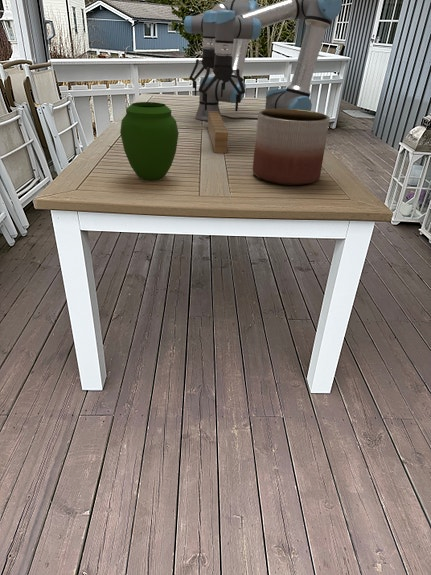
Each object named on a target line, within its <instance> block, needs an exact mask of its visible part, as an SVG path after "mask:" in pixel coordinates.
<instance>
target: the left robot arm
mask: <svg viewBox="0 0 431 575" xmlns="http://www.w3.org/2000/svg"><path fill="white" fill-rule="evenodd" d="M259 8H260V6H259V3H258V2H257V0H224V1H222V2H219V3H217V4H215V5H214V6H213V8H211V9H207V10H204V11H203V12H202V13H199V14H196V15H186V16H185V17H184V20H183V29H184V31H185V32H186V33H187V34H192V35H193V34H195V35H202V56H201V59H199V58H197V59H196V60H195V64H194V66H193V69H192V71H191V72H190V75H189V77H188V80H190V81H192V89H194V96H197V79H198V78H199V76H201V74H202V73H203V72H204V70H207V68H208V67H209V68H212V69H213V68H214V59H215V55H216V54H215V43H216V42H215V34H216V24H215V23H216V15H217V11H218V10H231V11H235V16H237V15H240V14H243V13H246V12H249V11H252V10H255V9H259ZM249 42H250V39H234V43H233V54H232V55H231V56H232V57H233V60H232V69H233V70H234V69H239V73H240V78H241V80H242V83H243V86H244V89H245V90H246V82H244V81H245V80H244V77H243V72H244V67H245V61H246V57H247V51H248V47H249ZM200 64H201V65H202V67H201V68H200V70H199V71H198V72H197V73H196V75H195V72H196V71H197V68H198V66H199V65H200ZM213 77H214V76H208V78H207V80H206V82H205V84H204V86H203V90H204V88H205V87H206V86H207V85H208V83H209V82H210V81H211V80H212V79H213ZM230 77H231V78H232V80H233V81H234V83H235V84H236V86H237V87H238V89H239V90H240V91H242V90H241V87H240V85H239V82H238V79H237V76H236V75H235V74H234V72H233V73H232V75H231V76H230ZM203 79H204V77H201V78H200V80H199V86H198V88H199V87H200V85H201V83H202V81H203ZM206 93H207V110H205V102H203V100H202V92H199V94H198V95H199V100H198V101H199V103H198V104H199V105H198V107H197V111H196V114H195V119H196V120H199V121H202V122H203V121H204V122H208V111H218V112H219V114H220V116H221V118H226V119H232V120H258V117H247V116H244V117H243V116H239V117H238V116H237V117H233V116H228V115H224V114H221V110H220V107H219V105H220V103H231V104H236V94H238V93H237V91H236V90H235V88H234V87H233V85H232V84H231V82H230V81H229V79H228V80H226V81H225V80H218V79H217V80H216V81H215V82H214V83H213V84H212V86H211V87H210V88H209V89H208V90H207V92H206ZM245 94H246V93H244V94H242V95H241V101H242V100H243V99H244V96H245ZM219 102H220V103H219Z"/></svg>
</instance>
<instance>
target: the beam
mask: <svg viewBox="0 0 431 575" xmlns="http://www.w3.org/2000/svg"><path fill="white" fill-rule="evenodd" d="M220 114H221V113H220ZM220 114H219V112H218V111H208V121H207V131H208V134H209V137H210V141H211V144H212V148H213V151H214V153H218V154H227V153H228V142H229V141H228V139H229V132H228V130H227V127H226V125H225V123H224V121H223V117H222V116H220Z"/></svg>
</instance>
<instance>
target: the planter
mask: <svg viewBox="0 0 431 575" xmlns="http://www.w3.org/2000/svg"><path fill="white" fill-rule="evenodd" d="M257 118H258V119H257V123H256V133H255V134H256V135H255V141H254V142H255V143H254V150H253V151H254V152H253V160H252V173H253V174H254V175H255V176H256V177H257V178H259V179H261V180H263V181H265V182H269V183H271V184H276V185H283V186H302V185H308V184H311V183H314V182H315V181H317V180H319V179H320V177H321V173H322V167H323V166H322V165H323V161H324V154H325V151H326V150H325V149H326V142H327V138H328V131H329V126H330V120H331V119H330V116H329V115H327V114H324V113H321V112H317V111H314V110H313V111H312V110H311V111H306V110H297V109H266V110H265V109H262V110H259V111H258V114H257Z"/></svg>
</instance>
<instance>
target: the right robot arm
mask: <svg viewBox="0 0 431 575" xmlns="http://www.w3.org/2000/svg"><path fill="white" fill-rule="evenodd" d="M342 6H343V0H280V1H277V2H275V3H272V4H268V5H265V6H261V7H259V9H255V10H252V11H249V12H246V13H243V14H240V15H237V16H235V11H231V10H218V11H217V15H216V23H215V24H216V34H215V42H216V43H215V54H216V55H215V59H214V68H213V69H212V68H209V67H208V68H207V70H206V69H205V70H206V71H205V74H204V76H203V78H204V79H203V81H202V83H201V85H200V84H199V86H200V87H199V86H198V92H199V93H200V92H202V100H203V102H205V110H207V93H206V92H207V90H208V89H209V88H210V87H211V86H212V84H213V83H214V82H215V81H216V80H217V79H218V80H225V81H226V80H228V79H229V81H230V82H231V84H232V85H233V87H234V88H235V90H236V91H237V93H238V94H236V103H235V107H234V111H235V112H238V110H239V104H240V103H241V102H242V100H241V95H242V94H244V93H245V94H246V93H247V92H246V88H245V89H244V86H243V83H242V80H241V78H240V73H239V69H234V70H233V69H232V60H233V57H232V56H231V55H232V54H233V43H234V39H249V41H252V40H257V39H258V38H259V37H260V36H261V32H262V29H263V28H267V27H269V26H272V25H275V24H278V23H279V24H280V23H281V22H285V21H287V20H288V21H290V22H292V21H295V20H304V22H305V25H306V26H305V31H304V35H303V39H302V42H301V46H300V49H299V53H298V56H297V61H296V65H295V67H294V72H293V75H292V78H291V82H290V85H288V86H287V87H286V88H269V89H268V90H267V91H266V96H265V108H264V110H266V109H297V110H306V111H312V107H313V106H312V105H313V104H312V100H311V98H310V97H311V91H310V85H311V82H312V78H313V75H314V72H315V68H316V65H317V61H318V59H319V54H320V51H321V48H322V44H323V40H324V37H325V34H326V31H327V30H328V29H329V28H330V27H331V25H332V22H333V20H335V19H336V18H337V17H338V16H339V15H340V14H341V11H342ZM233 72H234V74H235V75H236V76H237V79H238V82H239V85H240V87H241V90H242V91H240V90H239V89H238V87H237V86H236V84H235V83H234V81H233V80H232V78H231V77H230V76H231V75H232V73H233ZM212 73H213V74H214V76H212V77H213V79H212V80H211V81H210V82H209V83H208V85H207V86H206V87H205V88H204V90H203V86H204V84H205V82H206V80H207V78H208V77H210V75H211V74H212ZM245 94H244V95H245Z"/></svg>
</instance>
